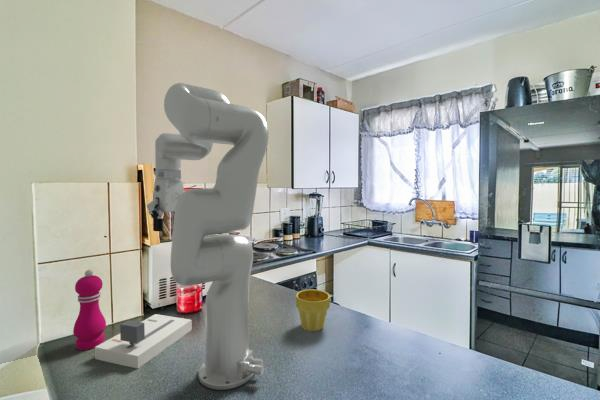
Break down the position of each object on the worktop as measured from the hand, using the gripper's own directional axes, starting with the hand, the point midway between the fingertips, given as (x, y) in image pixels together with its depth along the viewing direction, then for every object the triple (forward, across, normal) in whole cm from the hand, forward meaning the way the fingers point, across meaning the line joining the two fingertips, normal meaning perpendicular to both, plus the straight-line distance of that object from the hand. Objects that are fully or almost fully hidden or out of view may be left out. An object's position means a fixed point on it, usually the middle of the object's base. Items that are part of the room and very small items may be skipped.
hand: (169, 228), depth 99 cm
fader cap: (+25, -23, -8) cm, 35 cm away
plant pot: (+28, +6, -47) cm, 55 cm away
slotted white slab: (+28, -17, -7) cm, 34 cm away
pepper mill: (+28, -22, +7) cm, 37 cm away
